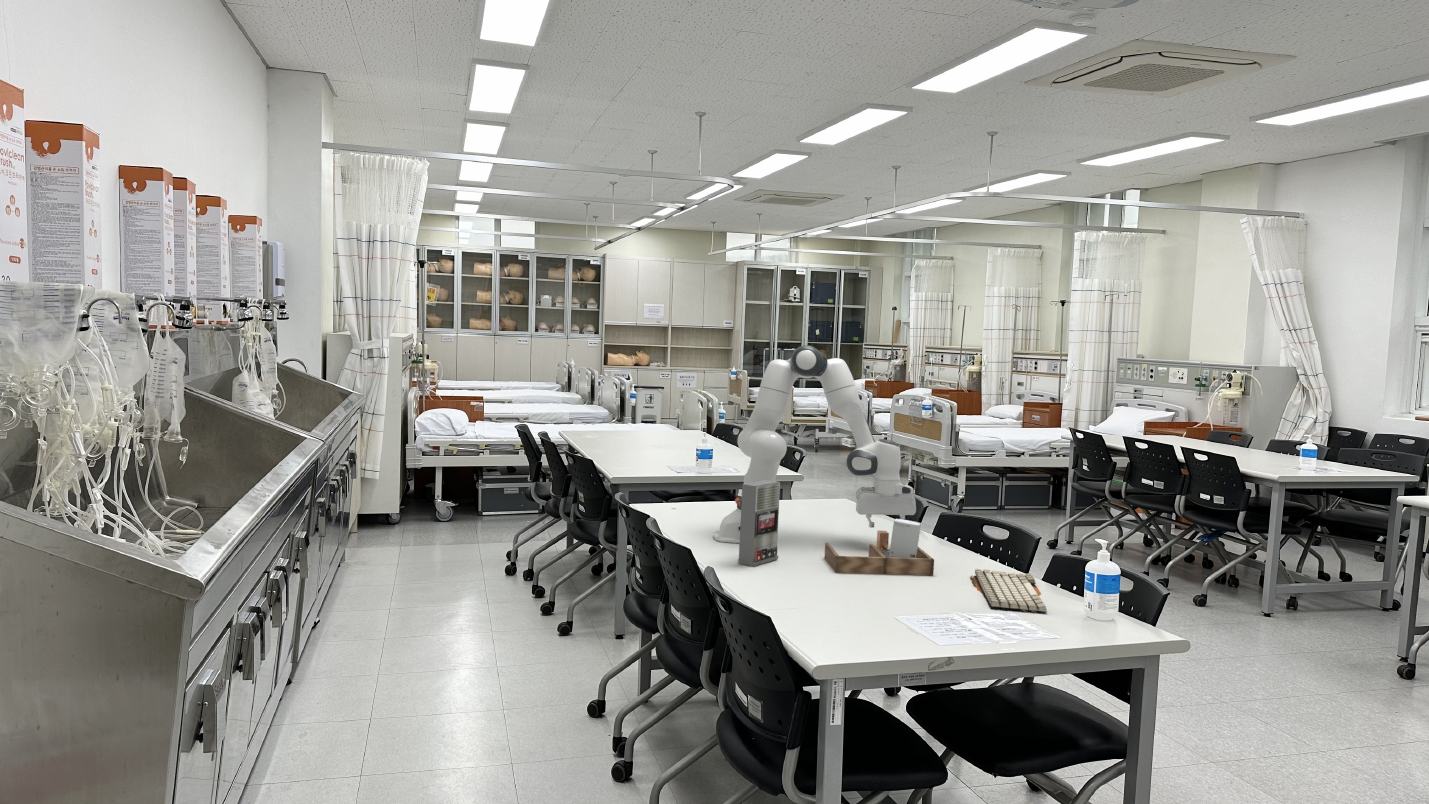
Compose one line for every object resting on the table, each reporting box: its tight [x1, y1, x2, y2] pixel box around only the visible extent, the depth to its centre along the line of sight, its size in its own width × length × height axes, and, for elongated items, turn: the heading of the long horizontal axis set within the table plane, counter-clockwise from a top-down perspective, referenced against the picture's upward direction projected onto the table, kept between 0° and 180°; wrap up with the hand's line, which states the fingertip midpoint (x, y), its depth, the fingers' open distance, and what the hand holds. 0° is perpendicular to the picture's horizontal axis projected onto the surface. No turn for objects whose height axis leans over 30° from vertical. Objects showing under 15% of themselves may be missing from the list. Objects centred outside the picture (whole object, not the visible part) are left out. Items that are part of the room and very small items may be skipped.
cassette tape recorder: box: [737, 480, 781, 568], centre depth 281 cm, size 14×6×25 cm, turn 143°
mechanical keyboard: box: [969, 568, 1048, 614], centre depth 257 cm, size 38×19×3 cm, turn 171°
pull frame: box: [875, 530, 890, 557], centre depth 292 cm, size 12×33×6 cm, turn 3°
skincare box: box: [889, 518, 922, 558], centre depth 281 cm, size 8×6×15 cm
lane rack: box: [823, 542, 935, 576], centre depth 283 cm, size 30×19×5 cm, turn 93°
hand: (885, 527), depth 306 cm, fingers open, 8 cm apart
